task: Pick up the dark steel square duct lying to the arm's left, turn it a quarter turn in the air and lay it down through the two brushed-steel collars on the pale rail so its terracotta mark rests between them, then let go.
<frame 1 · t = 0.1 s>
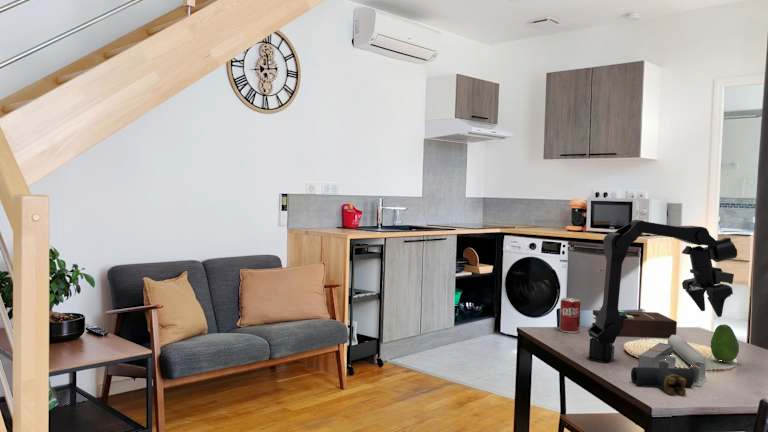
hand: (711, 313, 195), 15 cm above the table, tool pointing down, fingers open, 9 cm apart
collar rail: (681, 379, 176), on the table
tube: (686, 359, 199), on the table
avocado: (723, 362, 196), on the table
pipe connector: (666, 390, 167), on the table, touching collar rail
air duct: (655, 362, 193), on the table
soda can: (569, 331, 234), on the table
brown flat box: (632, 333, 236), on the table
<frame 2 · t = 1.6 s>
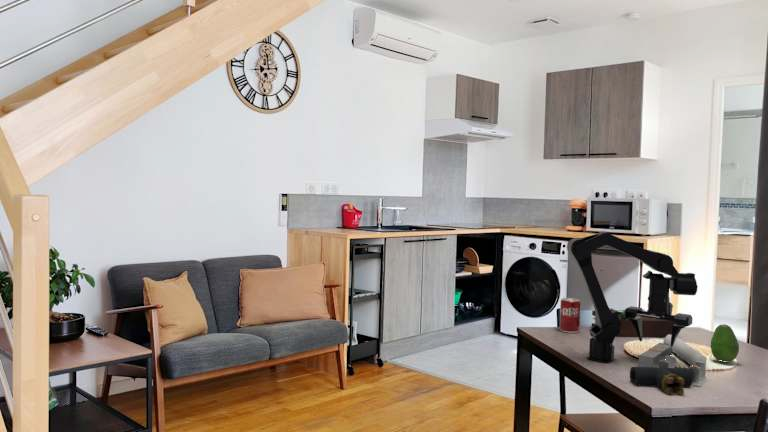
hand: (656, 343, 193), 6 cm above the table, tool pointing down, fingers open, 9 cm apart
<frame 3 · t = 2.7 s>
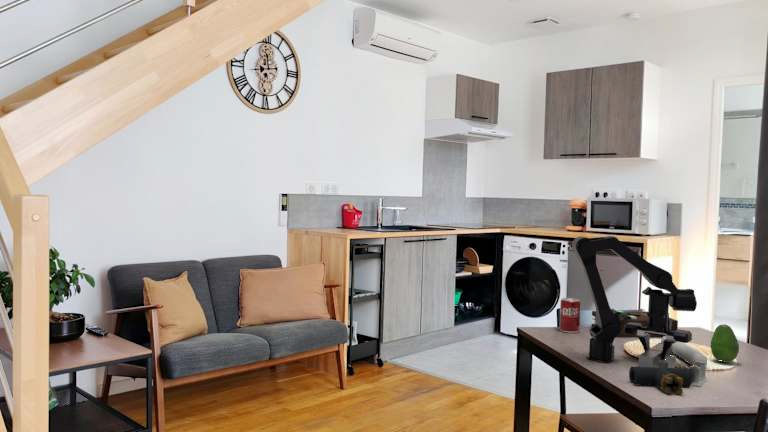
hand: (655, 359, 193), 1 cm above the table, tool pointing down, fingers closed on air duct, 4 cm apart
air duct: (655, 362, 193), on the table, touching gripper
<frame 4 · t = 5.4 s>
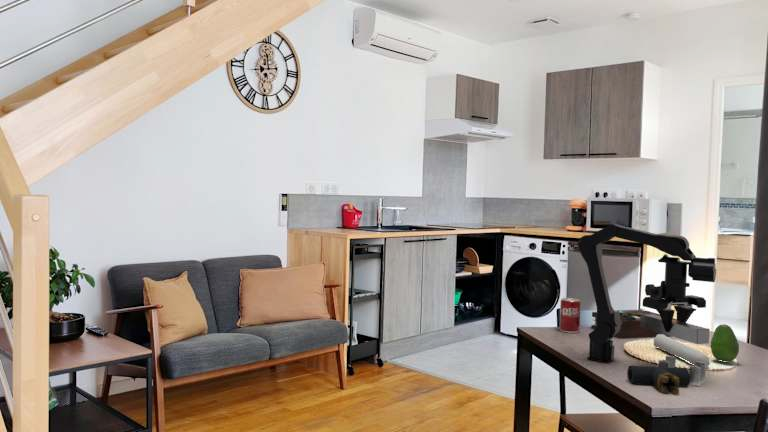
hand: (673, 331, 182), 12 cm above the table, tool pointing down, fingers closed on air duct, 4 cm apart
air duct: (672, 334, 183), point 11 cm above the table, touching gripper
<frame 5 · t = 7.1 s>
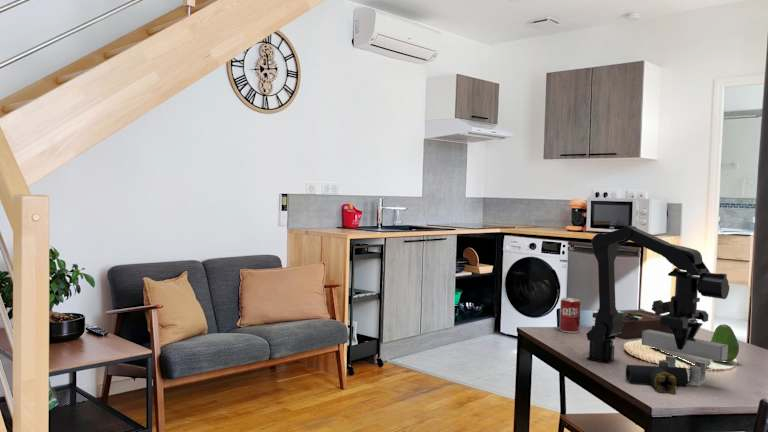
hand: (682, 348, 176), 9 cm above the table, tool pointing down, fingers closed on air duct, 4 cm apart
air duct: (682, 351, 176), point 8 cm above the table, touching gripper
when the fingers open (4 cm above the table, at t = 8.2 s): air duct drops 2 cm, resting on collar rail.
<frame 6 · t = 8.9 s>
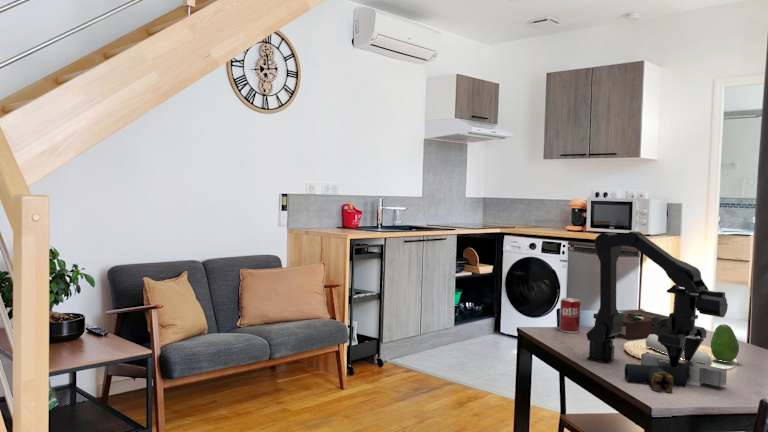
hand: (680, 364, 176), 4 cm above the table, tool pointing down, fingers open, 9 cm apart
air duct: (681, 375, 176), point 1 cm above the table, touching collar rail
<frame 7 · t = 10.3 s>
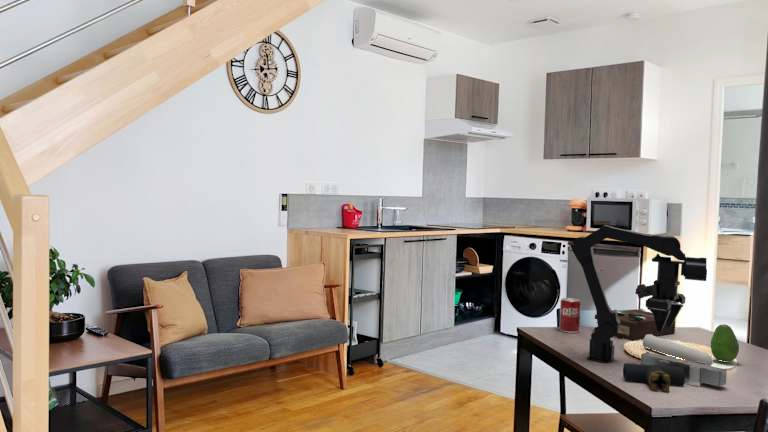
hand: (664, 329, 187), 12 cm above the table, tool pointing down, fingers open, 9 cm apart
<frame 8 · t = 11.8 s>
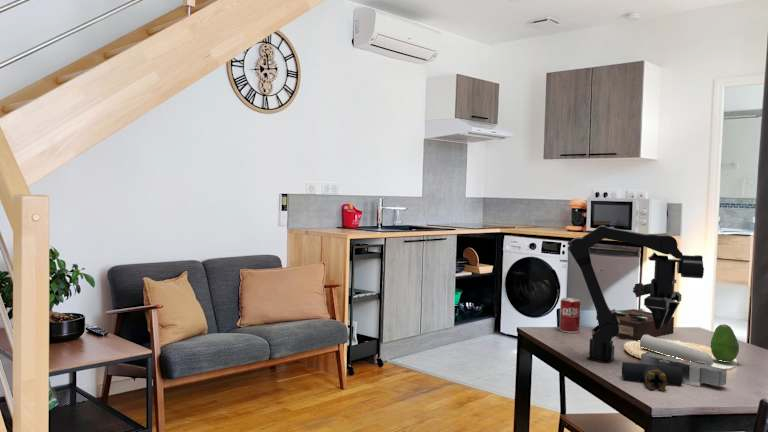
hand: (661, 327, 189), 12 cm above the table, tool pointing down, fingers open, 9 cm apart
at the end: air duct inside the target area on the collar rail (0.1 cm from its centre), point 1.0 cm above the collar rail's base; the gripper is holding nothing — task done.
